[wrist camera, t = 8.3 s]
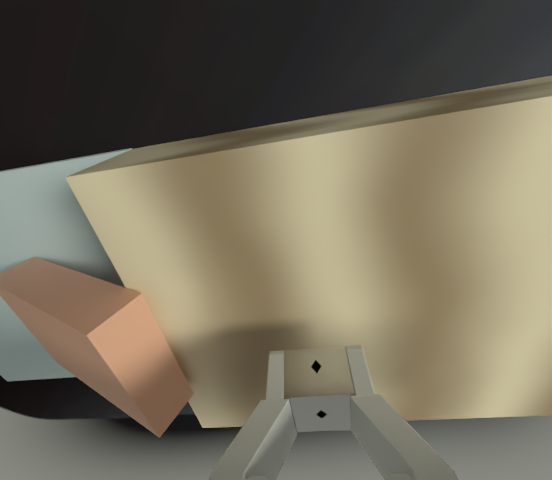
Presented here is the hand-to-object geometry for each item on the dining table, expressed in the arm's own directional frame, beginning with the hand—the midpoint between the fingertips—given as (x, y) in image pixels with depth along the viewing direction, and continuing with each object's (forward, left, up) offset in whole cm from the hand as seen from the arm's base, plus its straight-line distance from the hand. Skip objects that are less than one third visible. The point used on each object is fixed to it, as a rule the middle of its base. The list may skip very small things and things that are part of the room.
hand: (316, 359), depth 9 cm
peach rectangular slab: (-8, -6, -3) cm, 10 cm away
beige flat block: (+4, +2, -6) cm, 7 cm away
